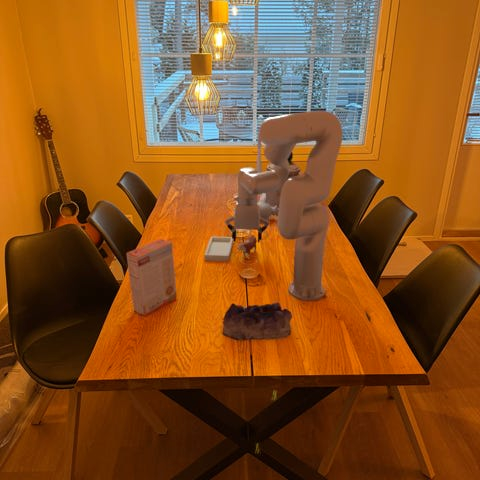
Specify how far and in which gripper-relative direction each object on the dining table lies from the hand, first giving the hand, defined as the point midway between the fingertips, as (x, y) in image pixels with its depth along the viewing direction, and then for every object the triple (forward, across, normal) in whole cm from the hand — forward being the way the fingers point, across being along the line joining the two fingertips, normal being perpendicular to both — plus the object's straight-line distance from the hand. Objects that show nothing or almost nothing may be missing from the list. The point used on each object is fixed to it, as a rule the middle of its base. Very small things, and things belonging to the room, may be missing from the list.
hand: (246, 240), depth 176 cm
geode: (+6, +6, -52) cm, 53 cm away
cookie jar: (+8, +15, +66) cm, 68 cm away
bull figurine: (+7, +1, -1) cm, 7 cm away
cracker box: (+6, -27, -40) cm, 49 cm away
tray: (+7, -11, +3) cm, 14 cm away
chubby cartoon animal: (+8, +9, +40) cm, 42 cm away
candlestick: (+10, +1, +113) cm, 114 cm away
